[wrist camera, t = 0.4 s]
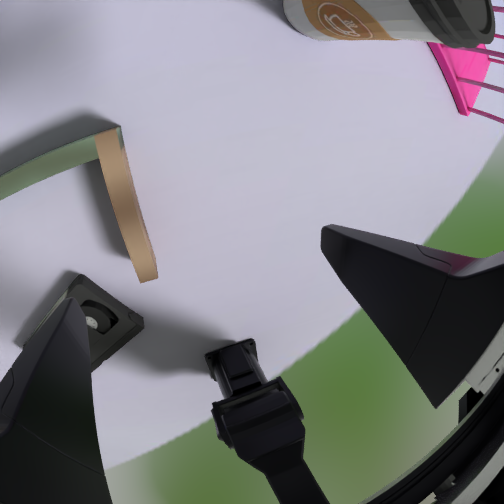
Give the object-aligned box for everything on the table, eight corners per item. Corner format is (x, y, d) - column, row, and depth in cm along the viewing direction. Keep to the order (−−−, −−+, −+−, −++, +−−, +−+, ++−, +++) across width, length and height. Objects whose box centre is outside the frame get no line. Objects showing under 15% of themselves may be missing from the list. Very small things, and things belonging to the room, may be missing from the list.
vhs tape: (82, 269, 21) (78, 282, 19) (142, 314, 26) (144, 328, 24) (23, 343, 21) (20, 356, 20) (75, 374, 26) (74, 386, 25)
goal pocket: (155, 258, 23) (158, 278, 20) (-22, 315, 17) (-30, 333, 14) (120, 125, 16) (116, 128, 14) (-70, 224, 10) (-84, 238, 8)
